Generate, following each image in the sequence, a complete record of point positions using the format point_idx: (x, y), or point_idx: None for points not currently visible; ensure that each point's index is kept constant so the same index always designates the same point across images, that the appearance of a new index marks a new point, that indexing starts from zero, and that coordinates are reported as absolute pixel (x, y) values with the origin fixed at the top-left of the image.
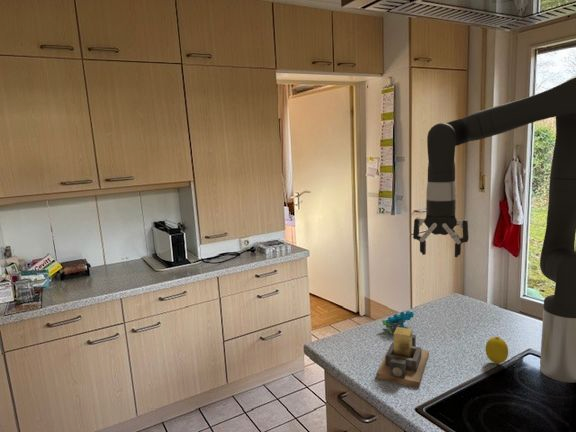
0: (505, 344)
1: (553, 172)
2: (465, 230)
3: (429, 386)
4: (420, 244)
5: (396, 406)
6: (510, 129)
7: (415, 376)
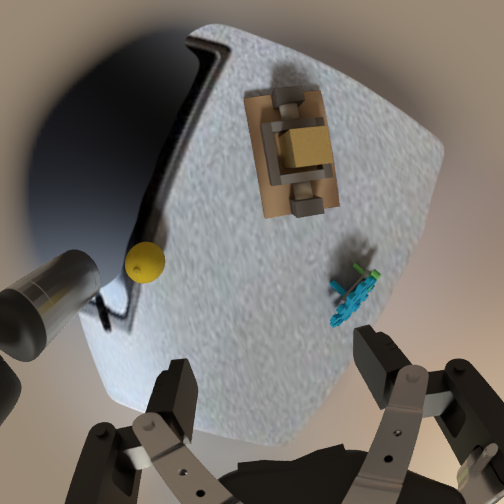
0: (125, 265)
1: None
2: (83, 488)
3: (229, 113)
4: (404, 359)
5: (257, 41)
6: None
7: (256, 112)
